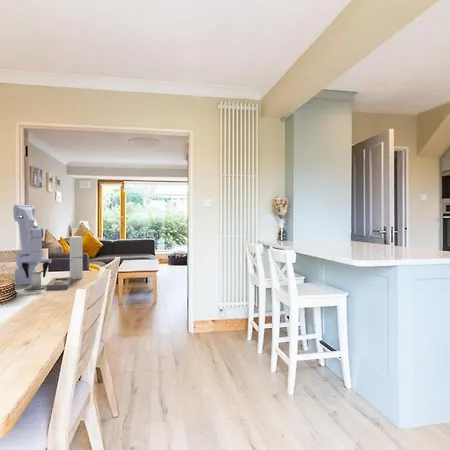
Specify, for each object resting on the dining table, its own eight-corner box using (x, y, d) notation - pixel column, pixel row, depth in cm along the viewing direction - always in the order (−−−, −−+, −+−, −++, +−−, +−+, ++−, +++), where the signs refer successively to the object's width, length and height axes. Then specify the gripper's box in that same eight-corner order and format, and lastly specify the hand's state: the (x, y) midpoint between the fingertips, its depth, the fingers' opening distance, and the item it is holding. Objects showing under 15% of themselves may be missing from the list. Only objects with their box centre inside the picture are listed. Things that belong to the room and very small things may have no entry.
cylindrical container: (78, 279, 214) (77, 237, 214) (67, 278, 216) (67, 236, 215) (85, 277, 221) (84, 236, 221) (74, 276, 223) (74, 236, 222)
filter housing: (46, 290, 183) (46, 285, 183) (53, 282, 204) (53, 277, 204) (67, 289, 186) (67, 284, 186) (72, 281, 207) (72, 277, 207)
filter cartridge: (30, 288, 185) (29, 272, 185) (32, 286, 189) (32, 271, 189) (40, 287, 186) (40, 272, 186) (42, 285, 191) (42, 270, 191)
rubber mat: (24, 290, 182) (24, 289, 182) (28, 286, 191) (28, 285, 191) (44, 289, 185) (44, 288, 185) (47, 286, 193) (47, 284, 193)
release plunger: (54, 287, 186) (53, 282, 186) (55, 286, 189) (55, 280, 189) (61, 287, 187) (61, 281, 187) (62, 286, 190) (62, 280, 190)
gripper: (17, 252, 181) (18, 279, 182) (49, 251, 185) (50, 277, 186) (21, 250, 188) (21, 277, 188) (52, 250, 192) (52, 275, 193)
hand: (35, 277), depth 188 cm, fingers open, 7 cm apart
